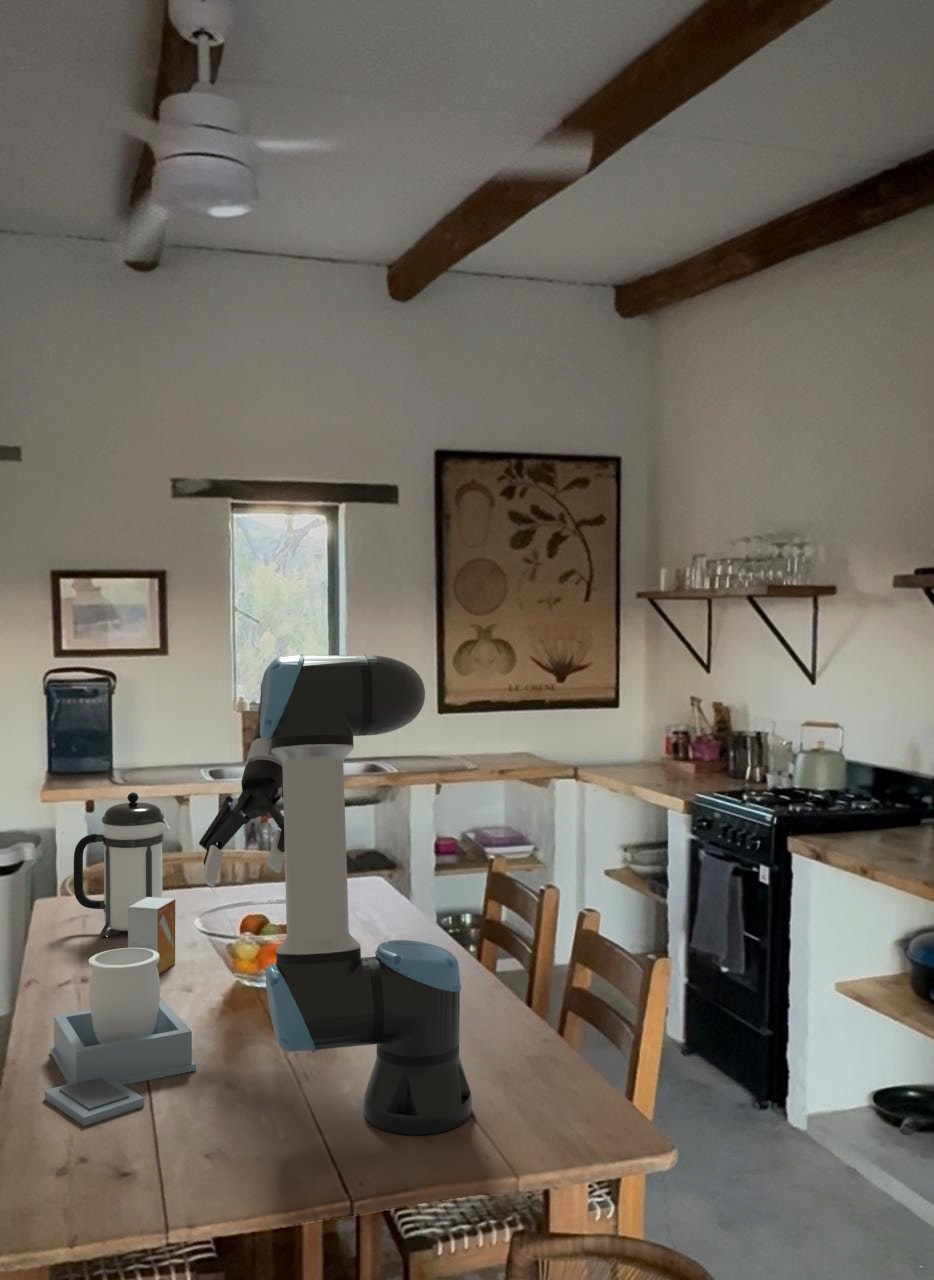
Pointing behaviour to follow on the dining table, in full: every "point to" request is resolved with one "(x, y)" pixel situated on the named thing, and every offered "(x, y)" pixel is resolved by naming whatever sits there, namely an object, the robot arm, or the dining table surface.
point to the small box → (153, 928)
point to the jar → (124, 993)
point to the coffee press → (125, 860)
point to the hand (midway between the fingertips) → (240, 876)
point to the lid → (94, 1100)
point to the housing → (121, 1050)
